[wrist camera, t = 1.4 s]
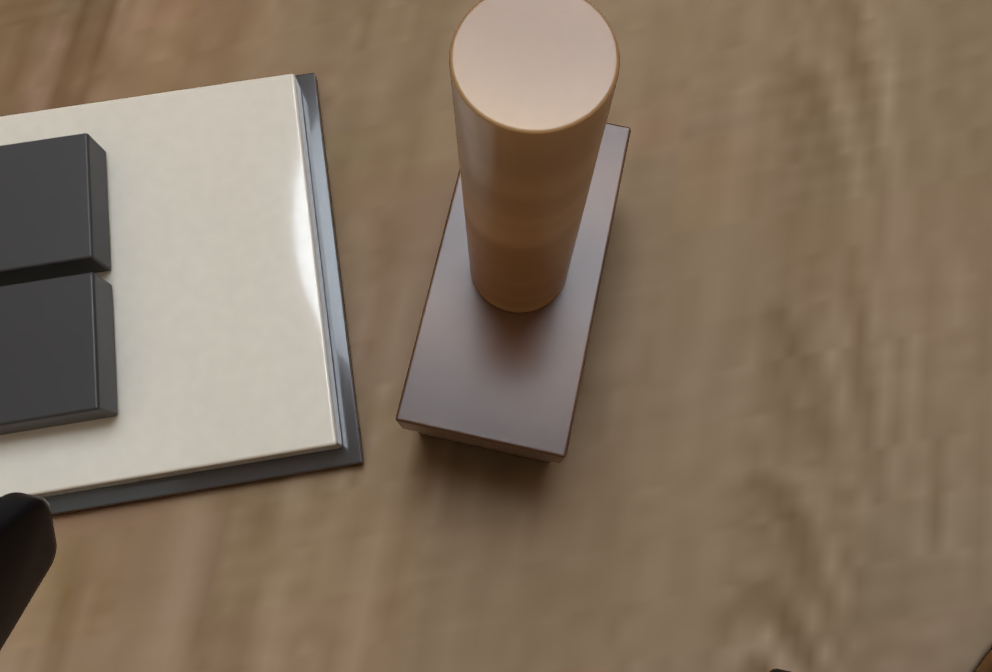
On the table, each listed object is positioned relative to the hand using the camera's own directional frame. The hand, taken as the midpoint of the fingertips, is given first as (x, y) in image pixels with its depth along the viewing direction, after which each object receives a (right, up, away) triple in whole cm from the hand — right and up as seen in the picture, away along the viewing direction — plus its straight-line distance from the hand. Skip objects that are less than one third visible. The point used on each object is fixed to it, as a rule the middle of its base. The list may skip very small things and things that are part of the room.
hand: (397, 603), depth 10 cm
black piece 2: (-12, +3, +13) cm, 18 cm away
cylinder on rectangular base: (+2, +4, +15) cm, 16 cm away
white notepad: (-11, +5, +15) cm, 19 cm away
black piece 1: (-13, +7, +14) cm, 20 cm away
